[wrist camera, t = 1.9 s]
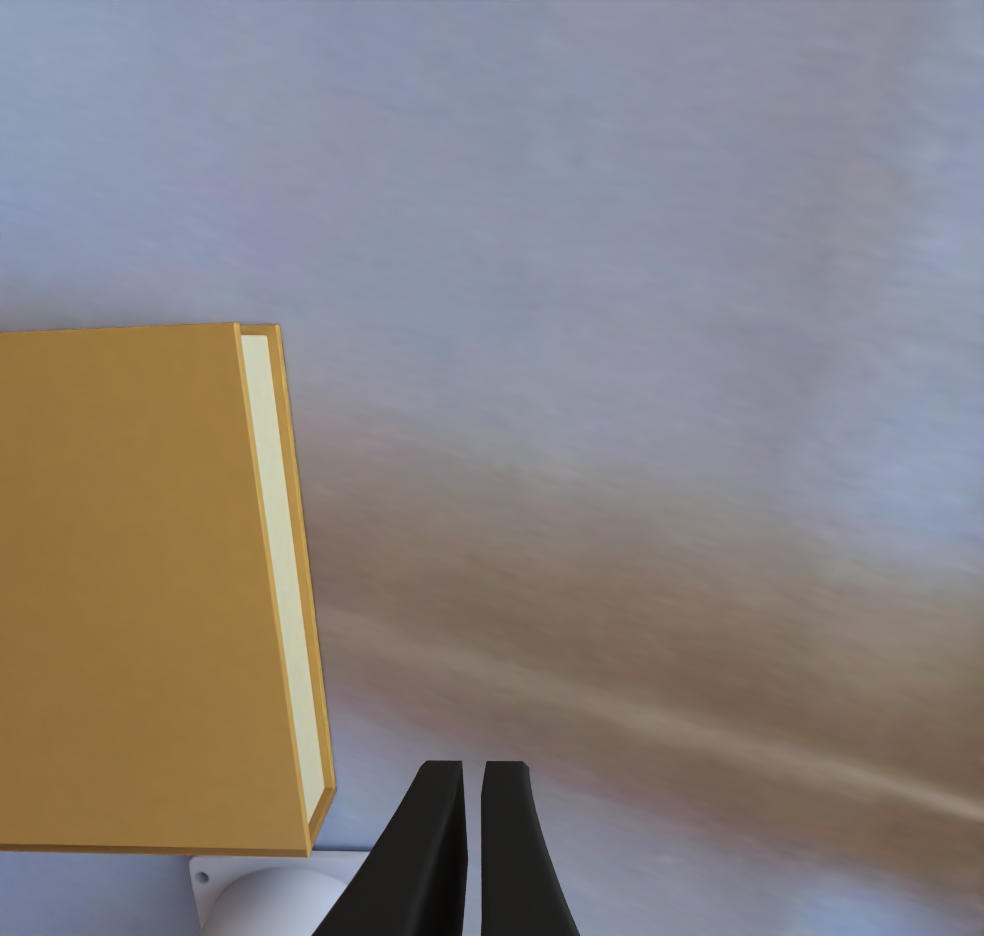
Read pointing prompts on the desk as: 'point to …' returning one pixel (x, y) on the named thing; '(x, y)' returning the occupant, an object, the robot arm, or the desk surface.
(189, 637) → the book
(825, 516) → the desk surface
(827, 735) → the desk surface
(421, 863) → the robot arm
